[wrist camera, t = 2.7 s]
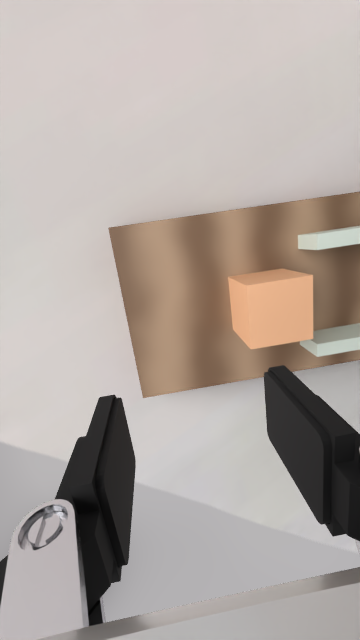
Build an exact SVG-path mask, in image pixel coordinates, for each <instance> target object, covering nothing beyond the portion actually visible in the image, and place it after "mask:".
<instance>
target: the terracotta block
mask: <svg viewBox="0 0 360 640" xmlns="http://www.w3.org/2000/svg"><path fill="white" fill-rule="evenodd" d="M228 281H229V292H230V303H231V314H232V325H233V330H234V331H235V332H236V334H237V335H238V336H239V337H240V338H241V339H242V340H243V341H244V342H245V344H246V345H247V346H248V347H249V348H250V349H257V348H263V347H269V346H275V345H280V344H286V343H292V342H298V341H304V340H310V339H313V275H310V274H306V273H301V272H296V271H292V270H287V269H283V268H282V269H276V270H269V271H263V272H257V273H250V274H244V275H237V276H231V277H228Z"/></svg>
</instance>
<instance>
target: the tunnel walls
mask: <svg viewBox="0 0 360 640" xmlns="http://www.w3.org/2000/svg"><path fill="white" fill-rule="evenodd" d="M354 244H360V226H354V227H348V228H341V229H334V230H328V231H321V232H315V233H308V234H301V235H298V249H307V250H321V249H328V248H334V247H341V246H347V245H354ZM300 345H301V346H302V347H304V348H305V349H307V350H308V351H310V352H311V353H312V354H314V355H315V356H317V357H320V356H325V355H331V354H337V353H343V352H348V351H354V350H360V323H357V324H351V325H346V326H340V327H334V328H328V329H322V330H316V331H313V339H310V340H304V341H300Z"/></svg>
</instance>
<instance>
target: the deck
mask: <svg viewBox="0 0 360 640" xmlns="http://www.w3.org/2000/svg"><path fill="white" fill-rule="evenodd" d="M354 226H360V192H355V193H348V194H341V195H334V196H327V197H320V198H313V199H306V200H299V201H292V202H285V203H278V204H271V205H264V206H257V207H250V208H243V209H236V210H229V211H223V212H216V213H209V214H202V215H195V216H188V217H181V218H174V219H167V220H160V221H153V222H146V223H139V224H132V225H125V226H118V227H111V228H109V233H110V238H111V243H112V248H113V253H114V257H115V262H116V267H117V272H118V277H119V282H120V287H121V292H122V297H123V302H124V306H125V311H126V316H127V321H128V326H129V331H130V336H131V341H132V346H133V351H134V355H135V360H136V365H137V370H138V375H139V380H140V385H141V390H142V395H143V398H146V397H152V396H157V395H163V394H169V393H174V392H180V391H186V390H191V389H197V388H203V387H208V386H214V385H220V384H225V383H231V382H237V381H242V380H248V379H254V378H259V377H264V373H265V372H268V369H269V368H270V367H276V366H281V365H284V366H286V367H287V368H288V369H289V370H290V371H291V372H293V371H299V370H305V369H310V368H316V367H322V366H327V365H333V364H339V363H344V362H350V361H356V360H360V350H354V351H348V352H343V353H337V354H331V355H325V356H320V357H317V356H315V355H314V354H312V353H311V352H310V351H308V350H307V349H305V348H304V347H302V346H301V345H300V341H298V342H292V343H286V344H280V345H275V346H269V347H263V348H257V349H250V348H249V347H248V346H247V345H246V344H245V342H244V341H243V340H242V339H241V338H240V337H239V336H238V335H237V334H236V332H235V331H234V330H233V325H232V314H231V303H230V292H229V281H228V277H231V276H237V275H244V274H250V273H257V272H263V271H269V270H276V269H282V268H283V269H287V270H292V271H296V272H301V273H306V274H310V275H313V331H316V330H322V329H328V328H334V327H340V326H346V325H351V324H357V323H360V244H354V245H347V246H341V247H334V248H328V249H321V250H307V249H298V235H301V234H308V233H315V232H321V231H328V230H334V229H341V228H348V227H354Z"/></svg>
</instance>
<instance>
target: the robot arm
mask: <svg viewBox="0 0 360 640" xmlns="http://www.w3.org/2000/svg"><path fill="white" fill-rule="evenodd" d="M264 386H265V402H266V419H267V432H268V436H269V439H270V441H271V443H272V444H273V446H274V448H275V450H276V451H277V453H278V455H279V456H280V458H281V460H282V461H283V463H284V465H285V466H286V468H287V470H288V472H289V473H290V475H291V477H292V478H293V480H294V482H295V483H296V485H297V487H298V489H299V490H300V492H301V494H302V495H303V497H304V499H305V500H306V502H307V504H308V506H309V507H310V509H311V511H312V512H313V514H314V516H315V517H316V519H317V521H318V522H319V523H320V524H325V525H326V526H327V528H328V529H329V531H330V533H331V534H332V536H338V535H342V534H347V535H348V536H350V537H352V538H354V539H355V541H356V545H357V548H358V551H359V554H360V434H359V433H358V432H357V431H356V430H354V429H353V428H352V427H351V426H350V425H349V424H348V423H347V422H346V421H345V420H344V419H343V418H342V417H341V416H340V415H338V414H337V413H336V412H335V411H334V410H333V409H332V408H331V407H330V406H329V405H328V404H327V403H326V402H325V401H323V400H322V399H321V398H320V397H319V396H317V395H315V394H314V393H313V392H312V391H311V390H310V389H309V388H308V387H307V386H306V385H305V384H304V383H302V382H301V381H300V380H299V379H298V378H297V377H296V376H295V375H294V374H293V373H292V372H291V371H290V370H289V369H288V368H287V367H286V366H284V365H281V366H276V367H270V368H269V369H268V372H265V373H264ZM134 479H135V455H134V451H133V446H132V442H131V437H130V433H129V429H128V424H127V420H126V416H125V411H124V407H123V403H122V399H121V398H116V396H115V395H110V396H104V397H100V398H99V400H98V403H97V406H96V409H95V412H94V414H93V417H92V420H91V423H90V426H89V429H88V432H87V435H86V436H84V437H80V438H78V440H77V442H76V444H75V447H74V450H73V452H72V455H71V458H70V460H69V463H68V466H67V469H66V471H65V474H64V476H63V479H62V482H61V484H60V487H59V490H58V492H57V495H56V498H55V499H54V500H51V501H48V502H44V503H43V504H41V505H39V506H37V507H35V508H34V509H33V510H32V511H30V512H29V513H28V514H27V515H26V516H25V517H24V518H23V519H22V520H21V521H20V522H19V524H18V525H17V527H16V529H15V530H14V532H13V535H12V538H11V541H10V548H9V554H8V555H7V556H6V557H5V558H4V559H3V560H2V561H1V562H0V640H360V567H358V568H353V569H349V570H344V571H340V572H335V573H330V574H325V575H320V576H316V577H311V578H306V579H302V580H297V581H293V582H288V583H283V584H279V585H274V586H270V587H265V588H260V589H256V590H251V591H246V592H242V593H237V594H233V595H228V596H224V597H219V598H214V599H210V600H205V601H201V602H196V603H191V604H187V605H182V606H178V607H174V608H169V609H165V610H160V611H156V612H151V613H147V614H143V615H138V616H134V617H129V618H124V619H120V620H115V621H111V622H107V623H106V620H105V612H104V605H103V598H102V595H103V594H104V593H105V592H106V590H107V589H108V588H109V587H110V585H111V583H114V582H118V581H120V579H121V569H122V566H123V565H127V564H128V558H129V545H130V532H131V530H130V529H131V518H132V505H133V492H134Z"/></svg>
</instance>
